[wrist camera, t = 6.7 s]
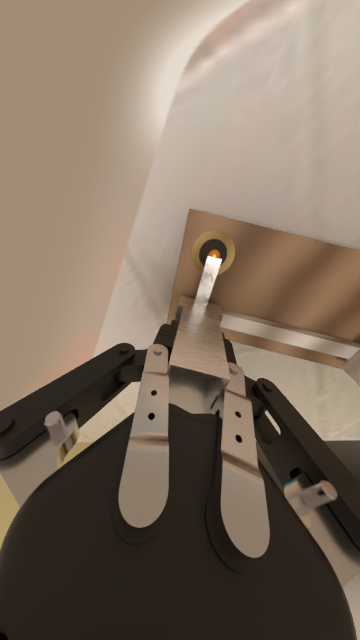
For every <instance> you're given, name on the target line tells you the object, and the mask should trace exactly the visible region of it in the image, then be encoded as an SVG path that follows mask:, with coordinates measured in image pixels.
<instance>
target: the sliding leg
mask: <svg viewBox="0 0 360 640" xmlns="http://www.w3.org/2000/svg"><path fill="white" fill-rule="evenodd" d="M221 261H222V259H221V258H220V253H219V251H218V250H216V249H212V250H211V251H210V252H209V254H208V255H207V259H206V262H205V266H204V269H203V273H202V276H201V280H200V283H199V287H198V290H197V294H196V297H195V299H193V298H189V297H185V296H181V298H180V301H179V304H178V308H177V312H176V317H175V320H176V321H180V323H179V326H178V330H177V334H176V338H175V342H174V346H173V349H172V353H171V357H170V361H169V365H168V369H167V373H166V374H169V403H171V404H175V405H177V406H179V407H180V408H182V409H184V410H186V411H188V412H190V413H192V414H200V413H209V412H210V410H211V409H212V408H213V406H214V404H215V402H216V401H217V398H218V395H219V394H220V392H221V390H222V389H223V388H224V389H226V387H227V385H228V383H229V382H230V374H229V369H228V363H227V358H226V353H225V347H224V342H223V337H222V331H221V326H220V323H221V320H222V318H223V314H222V310H221V306H220V305H217V304H213V303H209V302H208V300H209V297H210V294H211V291H212V288H213V285H214V282H215V279H216V276H217V273H218V270H219V267H220V264H221Z"/></svg>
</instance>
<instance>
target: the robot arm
mask: <svg viewBox="0 0 360 640" xmlns="http://www.w3.org/2000/svg"><path fill="white" fill-rule="evenodd" d="M179 323H180V321H176V320H172V321H171V324H170V325H169V324H163V325H162V326H161V327H160V329H159V332H158V334H157V336H156V338H155V340H154V343H153V345H151V346H149V347H148V349H145V350H135V348H134V346H133V345H131V344H128V343H120V344H117V345H115V346H114V347H112V348H110V349H108V350H107V351H105V352H103V353H101V354H100V355H98V356H96V357H94V358H93V359H91V360H89V361H87V362H86V363H84V364H82V365H81V366H79V367H77V368H75V369H74V370H72V371H70V372H68V373H66V374H65V375H63V376H61V377H60V378H58V379H56V380H54V381H52V382H51V383H49V384H47V385H45V386H44V387H42V388H40V389H38V390H37V391H35V392H33V393H31V394H30V395H28V396H26V397H25V398H23V399H21V400H19V401H17V402H16V403H14V404H12V405H10V406H9V407H7V408H5V409H3V410H2V411H0V473H1V474H2V476H3V478H4V480H5V482H6V483H7V485H8V487H9V489H10V490H11V492H12V494H13V496H14V497H15V499H16V501H17V503H18V504H19V506H20V509H19V511H18V512H17V514H16V516H15V517H14V519H13V521H12V523H11V525H10V527H9V529H8V531H7V534H6V536H5V538H4V541H3V543H2V547H1V550H0V640H357V637H356V631H355V626H354V622H353V618H352V614H351V611H350V608H349V604H348V602H347V599H346V596H345V593H344V591H343V588H344V587H345V586H346V585H347V584H348V583H349V582H350V581H351V580H352V579H353V578H354V577H355V576H356V575H357V574H358V573H359V572H360V483H359V482H358V481H357V480H356V478H355V477H354V476H353V475H352V474H351V473H350V471H349V470H348V469H347V468H346V467H345V466H344V465H343V463H342V462H341V461H340V460H339V459H338V458H337V456H336V455H335V454H334V453H333V452H332V451H331V449H330V448H329V447H328V446H327V445H326V444H325V442H324V441H323V440H322V439H321V438H320V437H319V436H318V434H317V433H316V432H315V431H314V430H313V429H312V427H311V426H310V425H309V424H308V423H307V422H306V420H305V419H304V418H303V417H302V416H301V415H300V414H299V412H298V411H297V410H296V409H295V408H294V407H293V405H292V404H291V403H290V402H289V401H288V400H287V398H286V397H285V396H284V395H283V394H282V393H281V391H280V390H279V389H278V388H277V387H276V386H275V385H274V384H273V383H272V382H271V381H269V380H267V379H264V378H259V379H258V380H257V381H254V380H252V379H250V378H248V377H246V376H245V375H244V372H243V370H242V368H241V367H239V366H238V365H237V363H236V359H235V355H234V351H233V347H232V344H231V342H230V341H229V340H228V339H225V336H224V333H223V332H222V337H223V342H224V347H225V353H226V358H227V363H228V369H229V374H230V382H229V383H228V385H227V387H226V389H224V388H223V389H222V390H221V392H220V394H219V395H218V398H217V401H216V402H215V404H214V406H213V408H212V409H211V410H210V412H209V413H200V414H192V413H190V412H188V411H186V410H184V409H182V408H180V407H179V406H177V405H175V404H171V403H169V374H166V373H167V369H168V365H169V361H170V357H171V353H172V349H173V346H174V342H175V338H176V334H177V330H178V326H179ZM140 381H141V383H140V388H139V394H138V399H137V404H136V409H135V412H134V413H132V414H131V415H130V416H128V417H127V418H126V419H124V420H123V421H122V422H120V423H119V424H118V425H116V426H115V427H114V428H112V429H111V430H110V431H108V432H107V433H106V434H104V435H103V436H102V437H100V438H99V439H98V440H96V441H95V442H94V443H92V444H91V445H90V446H89V447H87V448H86V449H84V450H83V451H82V452H80V453H79V454H78V455H77V456H75V457H74V458H73V459H71V460H70V461H69V462H67V463H66V464H65V465H63V466H62V463H63V461H64V458H65V457H66V455H67V454H68V452H69V451H70V450H71V449H72V448H73V446H74V445H75V444H76V442H77V440H78V437H79V428H80V427H82V426H83V425H84V424H85V423H86V422H87V421H88V420H89V419H91V418H92V417H93V416H94V415H95V414H96V413H97V412H99V411H100V410H101V409H102V408H103V407H104V406H105V405H107V404H108V403H109V402H110V401H111V400H112V399H113V398H114V397H116V396H117V395H118V394H119V393H120V392H121V391H122V390H124V389H125V388H126V387H127V386H128V385H129V384H130V383H131V382H140ZM266 410H267V411H268V412H269V413H270V415H271V416H272V418H273V419H274V420H275V422H276V423H277V425H278V426H279V428H280V431H281V434H280V435H279V433H278V432H277V430H276V429H275V427H274V426H273V425H272V423H271V422H270V420H269V419H268V417H267V416H266V414H265V413H264V412H265V411H266ZM255 438H256V440H257V442H258V443H259V445H260V447H261V449H262V451H263V452H264V454H265V456H266V458H267V459H268V461H269V463H270V465H271V466H272V468H273V470H274V471H275V473H276V475H277V477H278V479H279V480H280V482H281V484H282V486H283V487H284V492H285V496H286V497H285V496H284V495H283V493H282V492H281V491H280V489H279V488H278V486H277V485H276V483H275V482H274V480H273V479H272V478H271V476H270V475H269V473H268V472H267V471H266V469H265V468H264V466H263V465H262V464H261V462H260V461H259V459H258V458H257V453H256V442H255Z"/></svg>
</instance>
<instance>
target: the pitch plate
mask: <svg viewBox="0 0 360 640" xmlns="http://www.w3.org/2000/svg"><path fill="white" fill-rule="evenodd" d="M212 249H216V250H218V251H219V253H220V258H221V259H222V261H221V264H220V267H219V270H218V273H217V276H216V279H215V282H214V285H213V288H212V291H211V294H210V297H209V300H208V302H209V303H213V304H217V305H220V306H221V310H222V314H223V318H222V320H221V323H220V326H221V331H222V332H223V333H224V336H225V339H228V340H230V341H234V342H238V343H242V344H246V345H250V346H254V347H258V348H261V349H265V350H269V351H273V352H277V353H281V354H285V355H289V356H293V357H297V358H301V359H305V360H309V361H313V362H317V363H321V364H325V365H329V366H333V367H337V368H341V369H344V370H345V371H346V372H347V373H348V374H349V375H350V376H351V377H352V378H353V379H354V380H355V381H356V382H357V383H358V384H359V385H360V251H358V250H354V249H350V248H346V247H342V246H338V245H334V244H330V243H326V242H322V241H318V240H314V239H310V238H306V237H302V236H298V235H294V234H290V233H286V232H282V231H278V230H273V229H269V228H265V227H261V226H257V225H253V224H249V223H245V222H241V221H237V220H233V219H229V218H225V217H221V216H217V215H213V214H209V213H205V212H201V211H197V210H193V209H190V210H189V215H188V220H187V225H186V230H185V235H184V240H183V245H182V250H181V255H180V260H179V265H178V270H177V275H176V280H175V285H174V290H173V295H172V300H171V304H170V309H169V314H168V319H167V324H169V325H170V324H171V321H172V320H175V317H176V312H177V308H178V304H179V301H180V298H181V296H185V297H189V298H193V299H195V297H196V294H197V290H198V287H199V283H200V280H201V276H202V273H203V269H204V266H205V262H206V259H207V255H208V254H209V252H210V251H211V250H212Z"/></svg>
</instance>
